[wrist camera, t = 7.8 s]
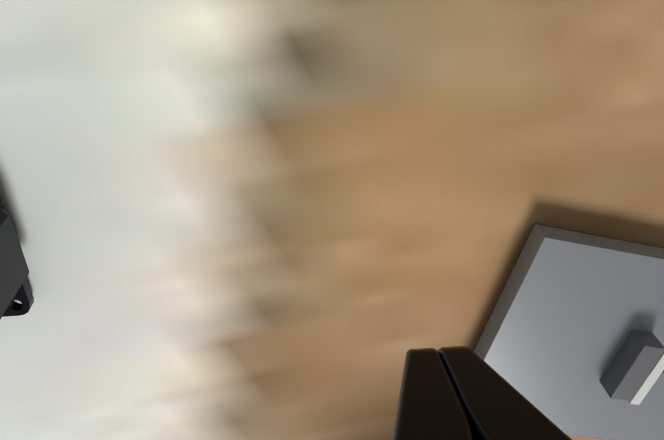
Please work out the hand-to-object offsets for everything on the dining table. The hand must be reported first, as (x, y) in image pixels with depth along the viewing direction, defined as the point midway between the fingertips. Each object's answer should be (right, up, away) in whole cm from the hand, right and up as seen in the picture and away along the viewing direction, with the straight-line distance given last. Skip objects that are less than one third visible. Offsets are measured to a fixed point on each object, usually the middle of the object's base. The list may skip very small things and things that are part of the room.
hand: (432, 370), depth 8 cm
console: (+14, -4, +19) cm, 24 cm away
